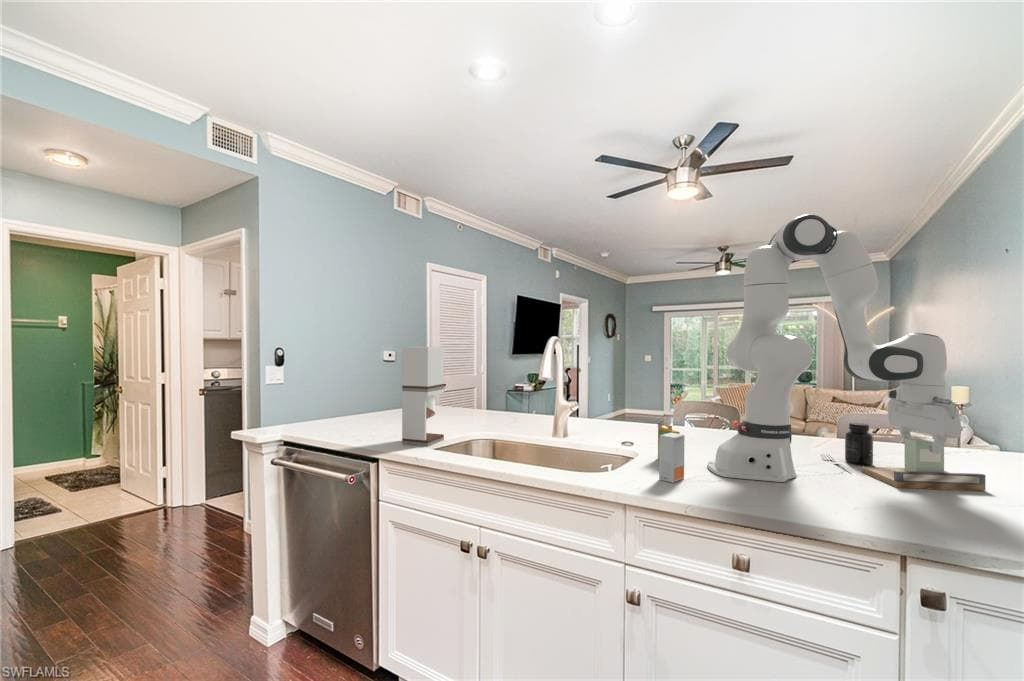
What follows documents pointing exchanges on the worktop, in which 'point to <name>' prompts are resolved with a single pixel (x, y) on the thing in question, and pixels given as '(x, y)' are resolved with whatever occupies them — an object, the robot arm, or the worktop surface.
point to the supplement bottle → (859, 445)
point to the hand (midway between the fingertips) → (921, 448)
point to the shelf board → (927, 479)
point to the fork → (838, 464)
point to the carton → (922, 456)
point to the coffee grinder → (420, 392)
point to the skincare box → (671, 457)
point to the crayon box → (664, 432)
